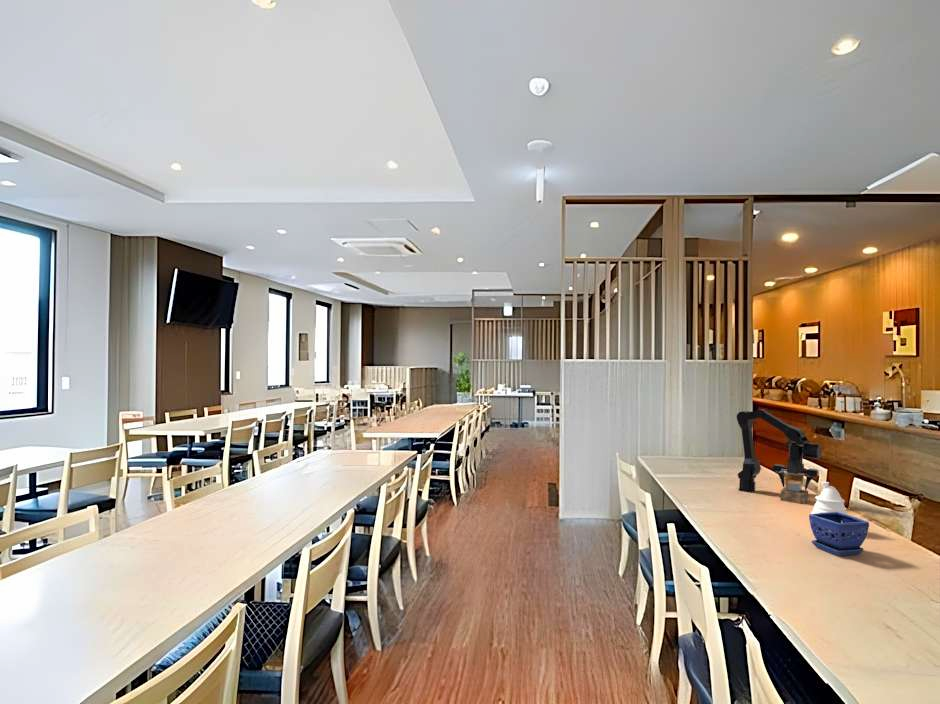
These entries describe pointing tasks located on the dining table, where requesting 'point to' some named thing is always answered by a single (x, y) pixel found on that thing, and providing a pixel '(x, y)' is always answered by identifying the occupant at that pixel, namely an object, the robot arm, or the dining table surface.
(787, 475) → the disposable coffee cup
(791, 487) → the steel peg
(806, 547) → the dining table surface
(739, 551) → the dining table surface
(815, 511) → the honey pot
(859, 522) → the flower pot
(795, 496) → the socket block
